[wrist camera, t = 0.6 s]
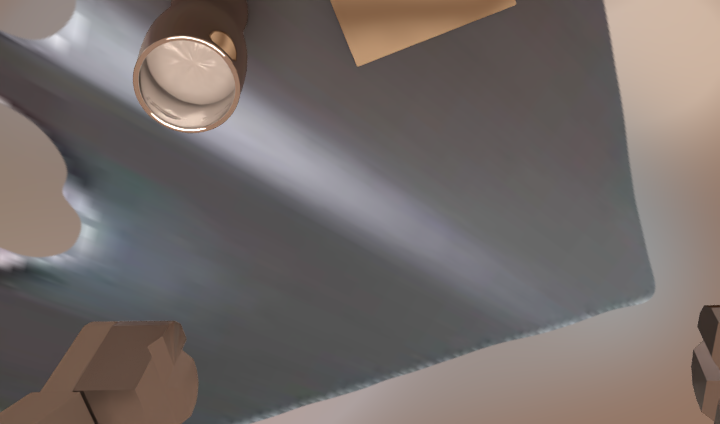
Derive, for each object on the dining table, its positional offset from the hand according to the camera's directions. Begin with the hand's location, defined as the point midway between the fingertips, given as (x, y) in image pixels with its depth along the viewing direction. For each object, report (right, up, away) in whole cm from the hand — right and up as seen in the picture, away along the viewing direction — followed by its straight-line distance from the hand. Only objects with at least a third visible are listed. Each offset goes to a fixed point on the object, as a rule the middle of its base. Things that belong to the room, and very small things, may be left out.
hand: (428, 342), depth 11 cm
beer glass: (-13, +18, +44) cm, 50 cm away
